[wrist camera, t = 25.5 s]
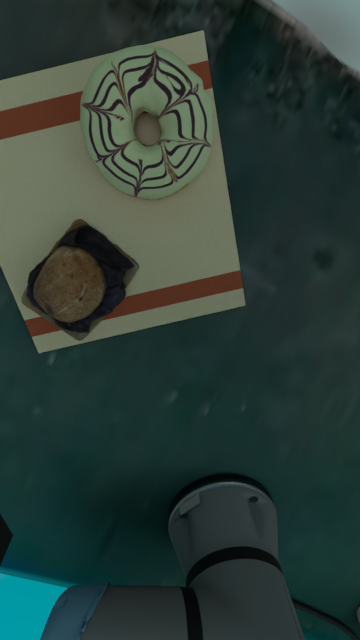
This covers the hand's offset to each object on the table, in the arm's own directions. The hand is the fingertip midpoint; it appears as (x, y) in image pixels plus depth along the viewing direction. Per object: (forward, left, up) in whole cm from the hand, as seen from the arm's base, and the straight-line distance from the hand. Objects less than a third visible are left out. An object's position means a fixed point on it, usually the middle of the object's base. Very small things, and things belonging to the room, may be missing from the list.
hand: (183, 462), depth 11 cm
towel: (+7, +4, -25) cm, 26 cm away
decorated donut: (+13, -2, -25) cm, 28 cm away
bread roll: (+1, +8, -25) cm, 26 cm away
